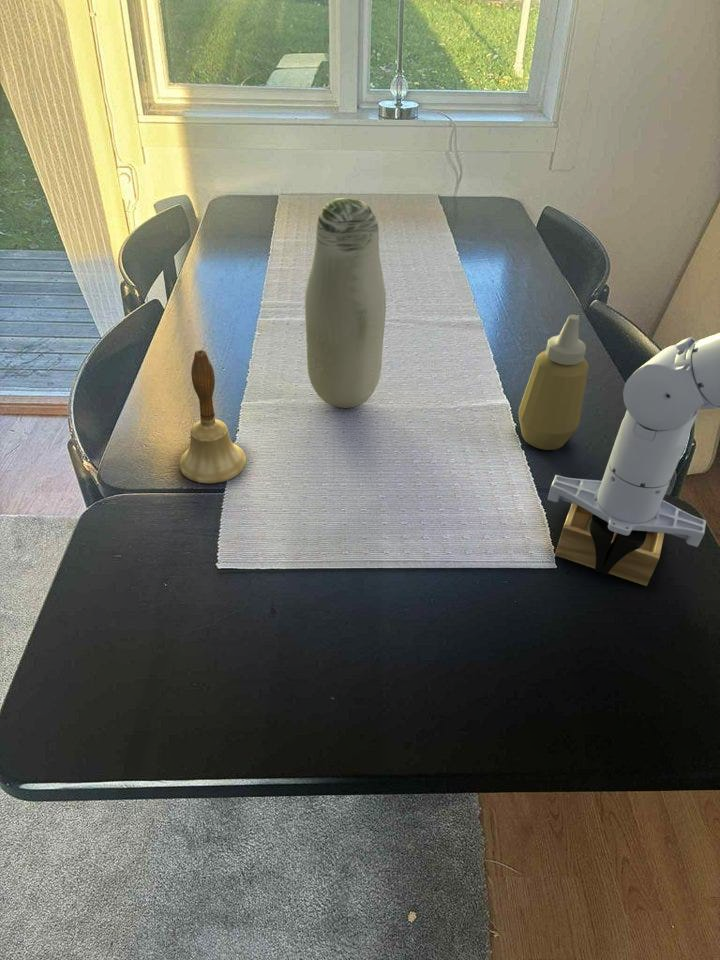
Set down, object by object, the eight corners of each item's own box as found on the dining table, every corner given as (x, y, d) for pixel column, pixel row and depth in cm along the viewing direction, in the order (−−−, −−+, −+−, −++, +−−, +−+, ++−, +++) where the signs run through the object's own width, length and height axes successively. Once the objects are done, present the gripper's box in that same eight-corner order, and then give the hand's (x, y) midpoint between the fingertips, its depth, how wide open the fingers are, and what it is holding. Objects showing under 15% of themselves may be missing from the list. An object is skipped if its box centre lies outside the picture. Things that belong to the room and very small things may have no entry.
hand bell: (220, 434, 93) (207, 327, 83) (259, 464, 89) (250, 354, 78) (166, 461, 89) (145, 351, 78) (205, 493, 84) (187, 381, 74)
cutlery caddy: (646, 586, 75) (659, 558, 72) (554, 555, 78) (563, 527, 75) (656, 538, 81) (669, 511, 78) (570, 511, 84) (579, 483, 81)
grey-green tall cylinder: (294, 395, 100) (287, 196, 82) (350, 372, 105) (355, 180, 87) (336, 428, 95) (338, 223, 76) (393, 403, 100) (408, 204, 81)
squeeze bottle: (569, 422, 97) (603, 303, 86) (577, 459, 91) (614, 336, 79) (511, 417, 98) (536, 298, 86) (515, 453, 92) (542, 331, 80)
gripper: (553, 469, 65) (525, 568, 74) (719, 519, 60) (669, 618, 69) (570, 428, 69) (542, 525, 78) (725, 472, 65) (677, 570, 74)
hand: (602, 566), depth 74 cm, fingers closed, pressing on cutlery caddy
